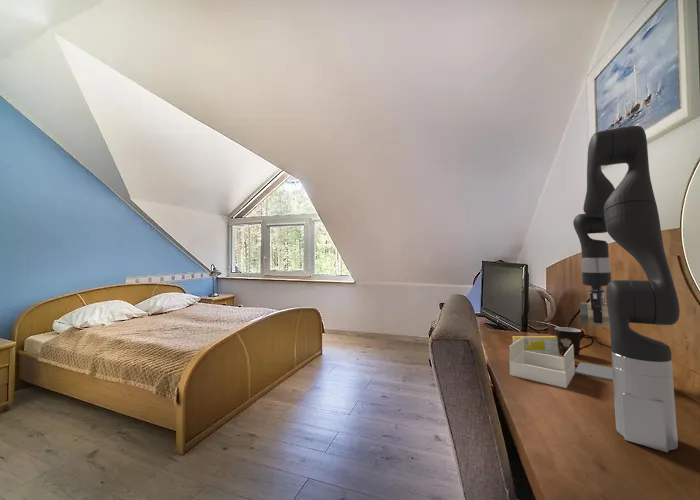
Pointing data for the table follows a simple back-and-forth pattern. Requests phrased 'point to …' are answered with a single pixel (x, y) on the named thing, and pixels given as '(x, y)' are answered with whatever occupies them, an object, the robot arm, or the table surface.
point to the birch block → (588, 315)
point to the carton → (541, 365)
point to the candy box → (540, 344)
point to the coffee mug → (569, 339)
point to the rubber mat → (595, 371)
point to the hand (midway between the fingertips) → (599, 321)
